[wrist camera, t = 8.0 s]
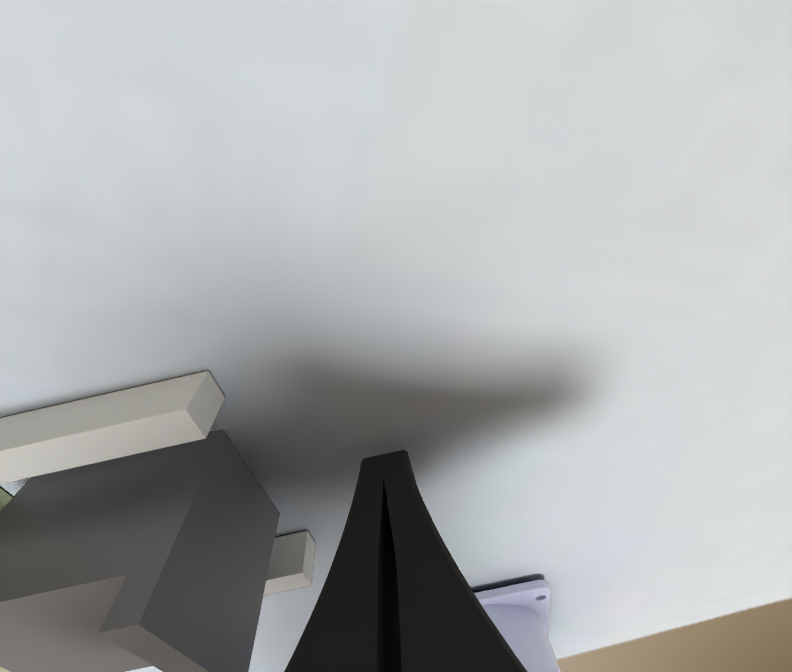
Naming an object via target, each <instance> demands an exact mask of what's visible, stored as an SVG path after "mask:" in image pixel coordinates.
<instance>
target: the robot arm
mask: <svg viewBox="0 0 792 672" xmlns="http://www.w3.org/2000/svg"><path fill="white" fill-rule="evenodd" d="M549 607H550V588H549V585H548V583H547V581H545V580H535V581H530V582H525V583H520V584H515V585H511V586H506V587H501V588H496V589H491V590H486V591H481V592H476V593H473V591H472V589H471V588H470V586H469V585H468V583H467V581H466V580H465V578H464V576H463V575H462V573H461V571H460V570H459V568H458V566H457V565H456V563H455V561H454V560H453V558H452V556H451V554H450V553H449V551H448V549H447V547H446V545H445V543H444V542H443V540H442V538H441V536H440V534H439V532H438V530H437V528H436V527H435V525H434V523H433V521H432V518H431V516H430V514H429V512H428V510H427V508H426V506H425V504H424V502H423V499H422V497H421V495H420V492H419V490H418V487H417V485H416V481H415V477H414V474H413V470H412V467H411V463H410V459H409V456H408V452H406V451H404V450H402V451H397V452H392V453H388V454H383V455H378V456H374V457H369V458H364V459H363V460H362V461H361V466H360V471H359V476H358V481H357V485H356V489H355V493H354V497H353V501H352V505H351V508H350V511H349V515H348V518H347V521H346V525H345V528H344V531H343V534H342V537H341V540H340V543H339V546H338V549H337V552H336V554H335V557H334V560H333V563H332V566H331V568H330V571H329V574H328V576H327V579H326V581H325V584H324V586H323V589H322V591H321V594H320V596H319V598H318V601H317V603H316V605H315V608H314V610H313V612H312V615H311V617H310V619H309V621H308V623H307V626H306V628H305V630H304V632H303V634H302V636H301V639H300V641H299V643H298V645H297V647H296V649H295V651H294V653H293V655H292V657H291V659H290V661H289V664H288V665H287V667H286V669H285V671H284V672H561V671H560V668H559V665H558V663H557V660H556V657H555V654H554V652H553V649H552V646H551V644H550V641H549V638H548V624H549Z"/></svg>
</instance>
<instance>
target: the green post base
mask: <svg viewBox="0 0 792 672" xmlns="http://www.w3.org/2000/svg"><path fill="white" fill-rule="evenodd" d="M224 400H225V397H224V395H223V394H222V392H221V390H220V389H219V387H218V385H217V384H216V382H215V381H214V379H213V377H212V376H211V374H210V373H209V371H205V372H200V373H196V374H192V375H187V376H183V377H178V378H174V379H170V380H165V381H161V382H156V383H152V384H148V385H143V386H139V387H134V388H130V389H126V390H121V391H117V392H112V393H108V394H104V395H99V396H95V397H91V398H86V399H82V400H77V401H73V402H69V403H64V404H60V405H55V406H51V407H47V408H42V409H38V410H33V411H29V412H25V413H20V414H16V415H11V416H7V417H3V418H0V484H3V483H7V482H12V481H16V480H21V479H25V478H30V477H34V476H39V475H43V474H48V473H52V472H57V471H61V470H66V469H70V468H75V467H79V466H84V465H88V464H93V463H97V462H102V461H106V460H111V459H115V458H120V457H124V456H129V455H133V454H138V453H142V452H147V451H151V450H156V449H160V448H165V447H169V446H174V445H178V444H183V443H187V442H192V441H196V440H201V439H205V438H206V437H207V435H208V433H209V431H210V429H211V427H212V425H213V423H214V421H215V418H216V416H217V414H218V412H219V410H220V408H221V406H222V404H223V402H224ZM12 498H13V497H11V496H10V495H9V494H7V493H6V492H5V491H3V490H2V489H1V488H0V511H1V510H2V509H3V508H4V507H5V505H6V504H7V503H8V502H9V501H10V500H11V499H12ZM315 548H316V543H315V542H314V540H313V539H312V537H311V535H310V534H309V532H308V531H304V532H299V533H294V534H290V535H285V536H280V537H275V539H274V544H273V549H272V554H271V559H270V564H269V569H268V574H267V579H266V584H265V589H264V594H263V596H265V595H269V594H274V593H279V592H284V591H289V590H293V589H298V588H303V587H308V586H312V578H313V568H314V558H315ZM0 672H11V671H9V670H6V669H4V668H1V667H0Z"/></svg>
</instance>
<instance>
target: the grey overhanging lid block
mask: <svg viewBox="0 0 792 672" xmlns="http://www.w3.org/2000/svg"><path fill="white" fill-rule="evenodd" d="M278 518H279V512H278V510H277V509H276V507H275V506H274V504H273V503H272V501H271V500H270V498H269V497H268V495H267V494H266V492H265V491H264V489H263V488H262V487H261V485H260V484H259V482H258V481H257V479H256V478H255V476H254V475H253V473H252V472H251V470H250V469H249V467H248V466H247V464H246V463H245V461H244V460H243V458H242V457H241V455H240V454H239V452H238V451H237V449H236V448H235V447H234V445H233V444H232V442H231V441H230V439H229V438H228V436H227V435H226V433H225V432H224V430H219V431H214V432H210V433H208V435H207V437H206V438H205V439H201V440H196V441H192V442H187V443H183V444H178V445H174V446H169V447H165V448H160V449H156V450H151V451H147V452H142V453H138V454H133V455H129V456H124V457H120V458H115V459H111V460H106V461H102V462H97V463H93V464H88V465H84V466H79V467H75V468H70V469H66V470H61V471H57V472H52V473H48V474H43V475H39V476H34V477H31V478H30V479H29V480H28V481H27V482H26V483H25V485H24V486H23V487H22V488H21V489H20V490H19V491H18V492H17V493H16V494H15V496H14V497H13V498H12V499H11V500H10V501H9V502H8V503H7V504H6V505H5V507H4V508H3V509H2V510H1V511H0V667H1V668H4V669H6V670H9V671H11V672H125V671H130V670H135V669H140V668H145V667H149V666H154V667H156V668H158V669H159V670H161V671H163V672H248V670H249V665H250V660H251V655H252V650H253V645H254V640H255V635H256V630H257V625H258V620H259V615H260V609H261V604H262V599H263V594H264V589H265V584H266V579H267V574H268V569H269V564H270V559H271V554H272V549H273V544H274V539H275V533H276V528H277V523H278Z"/></svg>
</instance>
